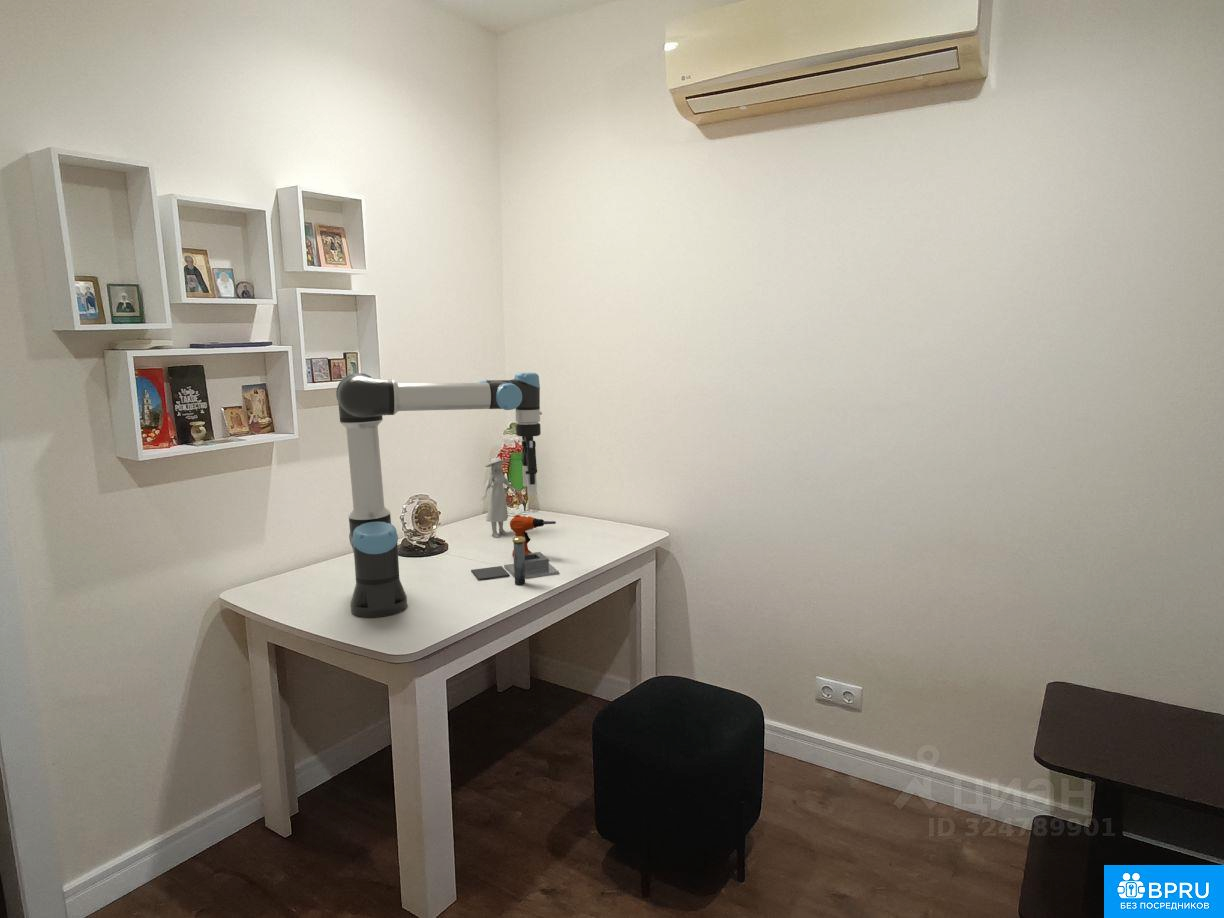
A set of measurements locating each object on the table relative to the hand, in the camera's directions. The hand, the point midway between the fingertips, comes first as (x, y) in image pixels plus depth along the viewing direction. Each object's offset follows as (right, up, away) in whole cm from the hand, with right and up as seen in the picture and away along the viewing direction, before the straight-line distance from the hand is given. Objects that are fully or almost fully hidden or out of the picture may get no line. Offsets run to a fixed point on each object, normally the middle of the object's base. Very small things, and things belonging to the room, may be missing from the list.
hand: (529, 490), depth 239 cm
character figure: (-17, -19, +50) cm, 57 cm away
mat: (-13, -27, +4) cm, 30 cm away
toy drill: (-1, -24, +21) cm, 32 cm away
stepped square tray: (0, -26, +7) cm, 27 cm away
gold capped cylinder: (-2, -28, -6) cm, 29 cm away
